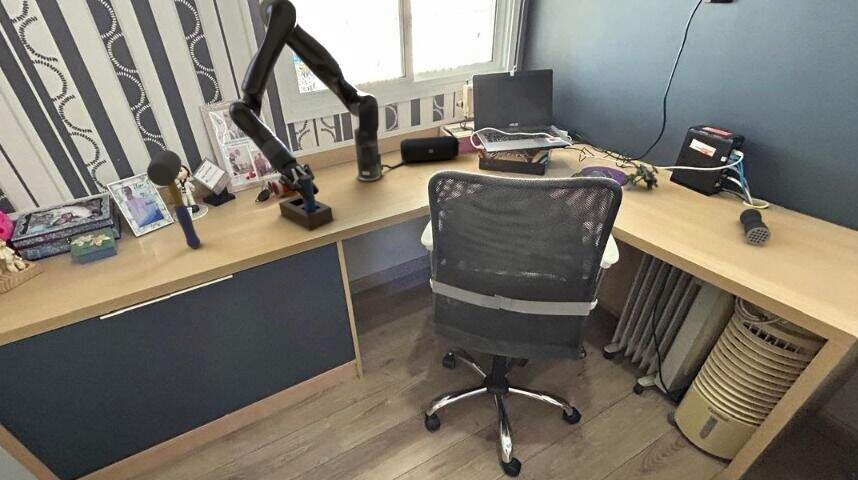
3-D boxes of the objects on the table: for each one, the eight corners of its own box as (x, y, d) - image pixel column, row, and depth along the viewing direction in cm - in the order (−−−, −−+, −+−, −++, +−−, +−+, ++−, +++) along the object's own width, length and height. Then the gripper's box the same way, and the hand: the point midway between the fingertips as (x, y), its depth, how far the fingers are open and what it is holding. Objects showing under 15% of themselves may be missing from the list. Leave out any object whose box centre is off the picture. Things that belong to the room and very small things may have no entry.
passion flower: (643, 202, 160) (668, 184, 149) (619, 200, 157) (643, 182, 146) (635, 177, 164) (660, 158, 153) (612, 175, 161) (635, 155, 150)
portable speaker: (402, 165, 187) (402, 143, 181) (400, 158, 194) (399, 136, 189) (458, 161, 188) (459, 139, 182) (454, 154, 196) (455, 132, 190)
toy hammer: (330, 201, 159) (327, 185, 155) (303, 211, 152) (300, 195, 149) (297, 185, 172) (295, 170, 169) (272, 194, 166) (269, 179, 162)
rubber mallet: (204, 254, 130) (169, 160, 113) (179, 258, 129) (140, 163, 111) (209, 235, 140) (178, 146, 122) (186, 239, 139) (150, 149, 121)
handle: (312, 206, 146) (306, 173, 139) (319, 209, 144) (313, 176, 136) (302, 210, 144) (296, 177, 136) (309, 213, 141) (303, 180, 134)
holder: (304, 206, 156) (301, 193, 153) (333, 220, 146) (331, 207, 143) (281, 215, 150) (278, 202, 147) (310, 230, 140) (307, 217, 137)
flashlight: (735, 220, 135) (743, 205, 131) (755, 223, 133) (763, 208, 129) (743, 242, 124) (751, 226, 120) (765, 246, 122) (774, 230, 118)
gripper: (267, 154, 129) (304, 197, 132) (297, 141, 139) (331, 181, 142) (258, 168, 135) (294, 209, 137) (288, 155, 145) (320, 193, 147)
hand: (312, 195), depth 139 cm, fingers closed on handle, 4 cm apart
